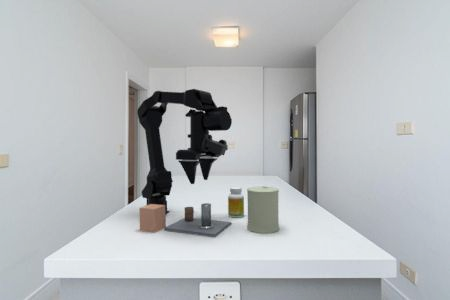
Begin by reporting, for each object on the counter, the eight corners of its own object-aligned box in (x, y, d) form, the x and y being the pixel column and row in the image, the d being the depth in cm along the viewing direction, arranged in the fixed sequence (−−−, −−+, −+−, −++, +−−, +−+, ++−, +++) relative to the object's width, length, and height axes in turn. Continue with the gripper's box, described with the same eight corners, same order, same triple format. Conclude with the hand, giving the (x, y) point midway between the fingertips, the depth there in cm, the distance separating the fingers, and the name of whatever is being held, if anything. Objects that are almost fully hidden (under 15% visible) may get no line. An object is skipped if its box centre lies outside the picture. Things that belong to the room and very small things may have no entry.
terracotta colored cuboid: (139, 230, 76) (139, 207, 76) (151, 225, 80) (151, 203, 80) (154, 232, 74) (154, 209, 74) (165, 227, 78) (165, 205, 78)
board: (164, 230, 75) (164, 227, 75) (185, 219, 87) (185, 217, 87) (214, 237, 69) (214, 234, 69) (231, 224, 80) (231, 222, 80)
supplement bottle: (242, 218, 87) (242, 189, 87) (226, 217, 88) (226, 188, 88) (244, 214, 93) (244, 186, 92) (229, 213, 94) (229, 186, 94)
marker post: (195, 228, 75) (195, 205, 75) (203, 223, 79) (202, 202, 79) (209, 229, 73) (209, 206, 73) (216, 225, 77) (216, 203, 77)
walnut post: (182, 221, 82) (182, 208, 82) (187, 218, 84) (187, 206, 84) (190, 222, 81) (190, 209, 81) (195, 219, 83) (195, 207, 83)
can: (281, 225, 80) (280, 185, 79) (276, 234, 71) (276, 190, 71) (251, 222, 83) (251, 184, 82) (243, 231, 74) (243, 189, 74)
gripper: (211, 129, 69) (211, 188, 70) (234, 132, 87) (233, 179, 87) (174, 129, 73) (174, 185, 74) (203, 132, 91) (203, 177, 91)
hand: (199, 181), depth 81 cm, fingers open, 9 cm apart
